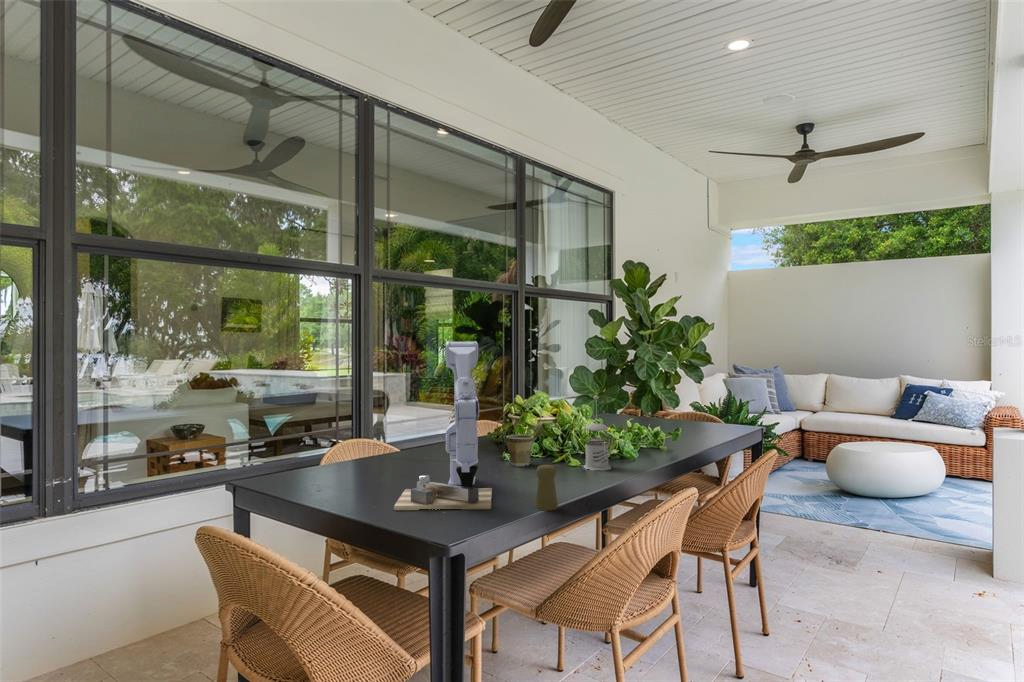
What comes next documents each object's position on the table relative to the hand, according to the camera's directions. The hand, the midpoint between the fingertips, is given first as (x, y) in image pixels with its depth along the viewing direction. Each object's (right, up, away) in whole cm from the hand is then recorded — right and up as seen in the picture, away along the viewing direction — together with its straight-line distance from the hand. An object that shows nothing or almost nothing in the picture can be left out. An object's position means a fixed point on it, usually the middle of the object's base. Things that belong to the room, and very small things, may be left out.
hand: (467, 493), depth 164 cm
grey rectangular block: (-12, -1, -4) cm, 12 cm away
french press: (+42, -3, +46) cm, 62 cm away
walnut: (-10, -1, -2) cm, 10 cm away
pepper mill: (+21, -2, -6) cm, 22 cm away
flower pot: (+15, -3, +53) cm, 55 cm away
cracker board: (-6, -2, +2) cm, 7 cm away
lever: (-5, -1, 0) cm, 6 cm away
